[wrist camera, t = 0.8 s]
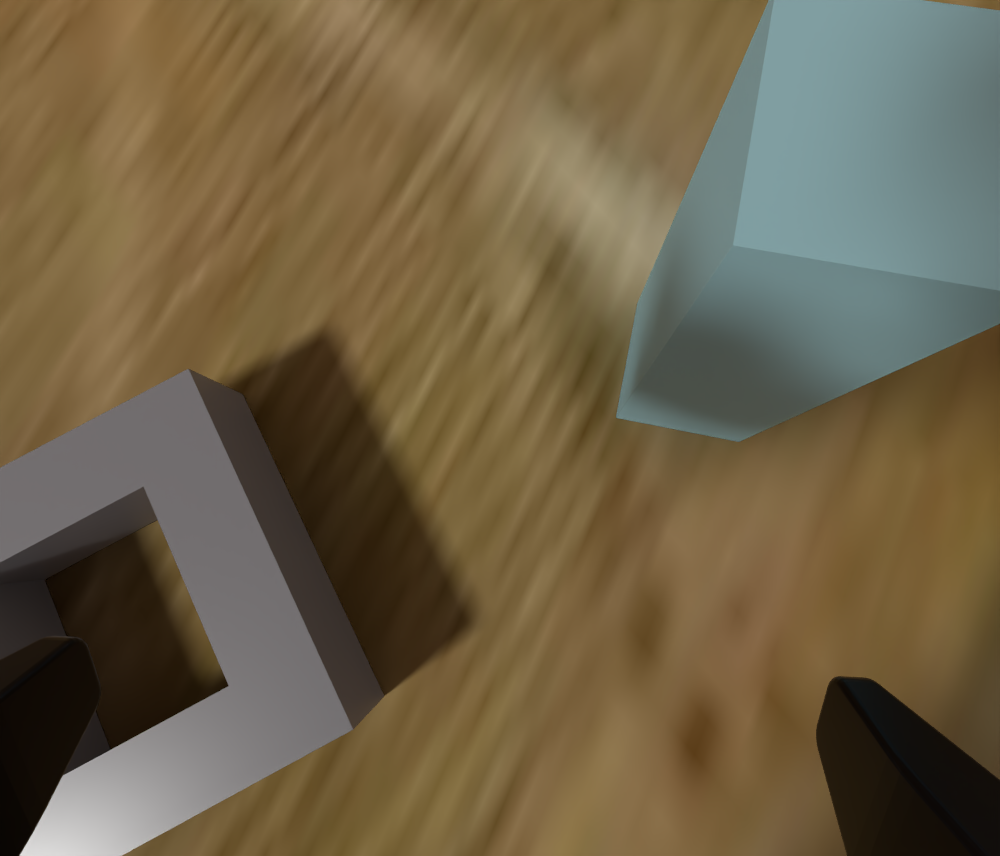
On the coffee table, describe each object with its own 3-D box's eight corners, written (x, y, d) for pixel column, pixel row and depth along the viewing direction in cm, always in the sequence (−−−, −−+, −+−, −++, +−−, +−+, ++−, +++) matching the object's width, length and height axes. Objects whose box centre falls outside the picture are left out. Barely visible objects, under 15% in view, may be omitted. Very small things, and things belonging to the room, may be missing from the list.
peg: (738, 441, 21) (1053, 299, 8) (615, 417, 21) (732, 245, 9) (757, 324, 22) (1077, 21, 9) (637, 303, 22) (777, -19, 9)
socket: (384, 696, 20) (353, 729, 17) (68, 868, 20) (-29, 937, 17) (242, 394, 22) (188, 368, 19) (-49, 547, 22) (-158, 550, 19)
